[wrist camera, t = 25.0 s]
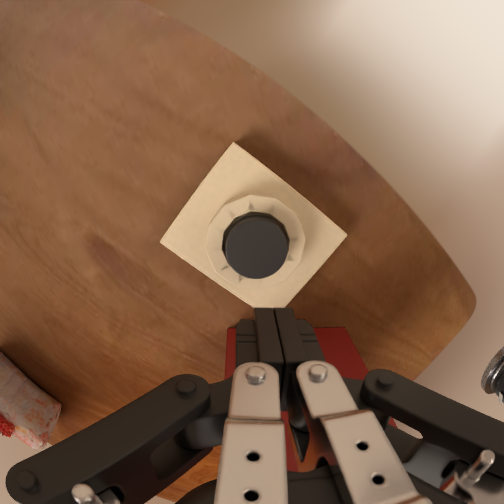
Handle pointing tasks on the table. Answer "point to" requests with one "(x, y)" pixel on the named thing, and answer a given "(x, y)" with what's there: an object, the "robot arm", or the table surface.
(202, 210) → the brew pad
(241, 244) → the button
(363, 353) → the table surface
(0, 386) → the food item
